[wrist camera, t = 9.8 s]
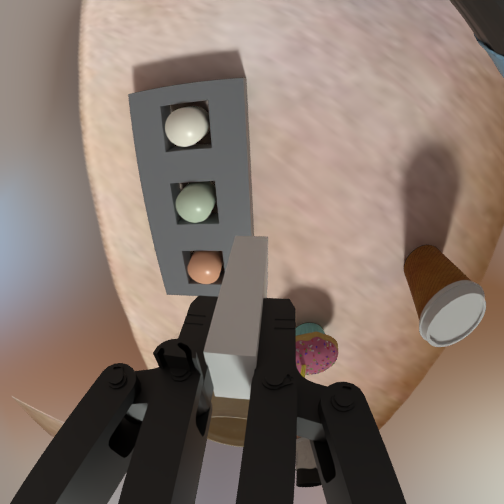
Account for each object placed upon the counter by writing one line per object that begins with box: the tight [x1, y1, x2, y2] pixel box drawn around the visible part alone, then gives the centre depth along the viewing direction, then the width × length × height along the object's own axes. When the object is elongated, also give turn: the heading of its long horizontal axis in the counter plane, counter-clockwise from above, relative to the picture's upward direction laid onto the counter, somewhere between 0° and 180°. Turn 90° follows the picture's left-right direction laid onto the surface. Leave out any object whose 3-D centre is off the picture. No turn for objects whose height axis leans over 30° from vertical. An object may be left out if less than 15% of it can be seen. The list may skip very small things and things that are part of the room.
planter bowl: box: [207, 391, 250, 447], centre depth 50 cm, size 16×16×11 cm
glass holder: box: [295, 437, 322, 487], centre depth 64 cm, size 9×14×15 cm, turn 104°
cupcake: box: [295, 323, 338, 378], centre depth 39 cm, size 9×8×12 cm
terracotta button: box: [188, 251, 223, 284], centre depth 36 cm, size 4×4×4 cm
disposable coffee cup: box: [404, 245, 486, 347], centre depth 31 cm, size 10×10×12 cm
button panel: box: [128, 78, 254, 296], centre depth 32 cm, size 26×12×3 cm, turn 3°
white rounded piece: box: [165, 106, 210, 147], centre depth 27 cm, size 4×4×4 cm
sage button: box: [176, 181, 217, 223], centre depth 32 cm, size 4×4×4 cm
